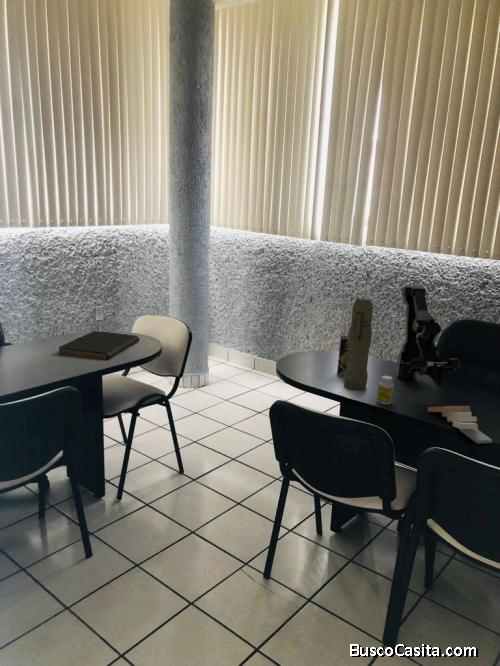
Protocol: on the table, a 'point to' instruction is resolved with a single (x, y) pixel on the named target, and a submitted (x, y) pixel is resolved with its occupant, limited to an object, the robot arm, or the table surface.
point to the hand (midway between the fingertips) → (440, 386)
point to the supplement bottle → (385, 390)
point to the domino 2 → (456, 414)
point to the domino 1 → (449, 409)
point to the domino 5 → (476, 435)
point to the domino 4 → (465, 425)
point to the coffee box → (343, 356)
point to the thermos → (359, 345)
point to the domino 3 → (462, 419)
